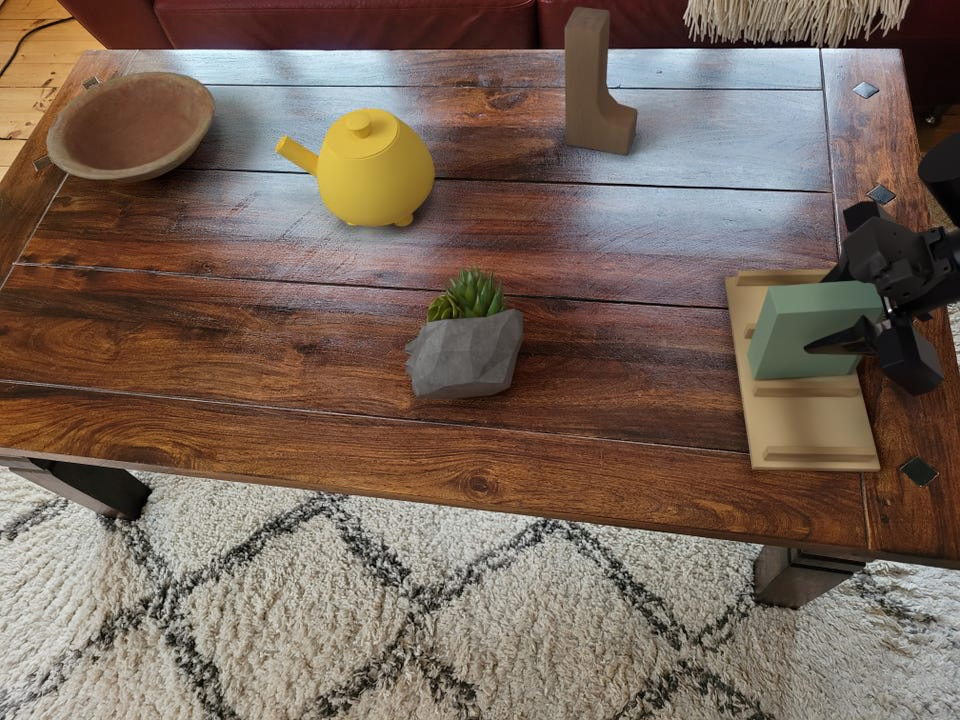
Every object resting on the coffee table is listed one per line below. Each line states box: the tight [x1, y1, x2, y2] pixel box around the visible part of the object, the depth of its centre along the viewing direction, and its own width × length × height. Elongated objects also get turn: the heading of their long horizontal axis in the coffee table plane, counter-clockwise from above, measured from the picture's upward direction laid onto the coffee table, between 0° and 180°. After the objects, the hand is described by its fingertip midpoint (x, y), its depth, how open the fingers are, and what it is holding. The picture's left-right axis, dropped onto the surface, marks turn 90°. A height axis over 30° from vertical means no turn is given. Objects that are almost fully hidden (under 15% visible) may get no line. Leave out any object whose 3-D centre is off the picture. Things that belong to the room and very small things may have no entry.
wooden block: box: [564, 6, 639, 156], centre depth 89 cm, size 9×4×18 cm, turn 69°
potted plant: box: [403, 263, 524, 401], centre depth 75 cm, size 12×13×15 cm
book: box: [747, 281, 886, 380], centre depth 69 cm, size 10×4×11 cm, turn 90°
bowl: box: [46, 71, 216, 183], centre depth 101 cm, size 24×24×8 cm
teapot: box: [274, 107, 436, 227], centre depth 89 cm, size 20×16×14 cm
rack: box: [724, 268, 881, 473], centre depth 74 cm, size 12×24×3 cm, turn 176°
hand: (801, 328), depth 68 cm, fingers closed on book, 5 cm apart
